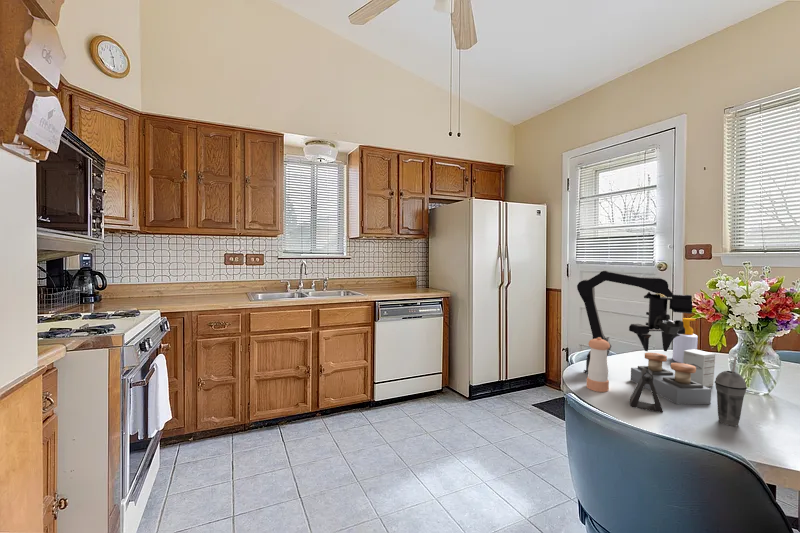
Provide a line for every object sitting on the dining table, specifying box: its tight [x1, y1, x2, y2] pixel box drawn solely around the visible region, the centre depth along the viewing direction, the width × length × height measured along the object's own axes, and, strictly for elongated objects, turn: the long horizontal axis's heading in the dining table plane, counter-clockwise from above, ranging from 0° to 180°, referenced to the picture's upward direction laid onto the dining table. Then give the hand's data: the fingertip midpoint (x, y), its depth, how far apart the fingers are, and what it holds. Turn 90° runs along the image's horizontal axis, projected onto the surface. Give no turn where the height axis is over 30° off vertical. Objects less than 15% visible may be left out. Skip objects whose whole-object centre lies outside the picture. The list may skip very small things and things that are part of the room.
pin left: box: [644, 352, 668, 372], centre depth 144 cm, size 7×7×6 cm
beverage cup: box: [714, 356, 748, 427], centre depth 112 cm, size 7×7×20 cm
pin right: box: [670, 362, 696, 384], centre depth 131 cm, size 7×7×6 cm
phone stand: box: [629, 368, 664, 414], centre depth 123 cm, size 9×6×12 cm, turn 60°
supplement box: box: [683, 348, 716, 388], centre depth 145 cm, size 7×7×13 cm
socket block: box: [630, 365, 712, 405], centre depth 137 cm, size 12×23×6 cm, turn 3°
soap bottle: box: [672, 317, 699, 363], centre depth 175 cm, size 13×8×20 cm, turn 164°
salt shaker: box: [586, 337, 611, 393], centre depth 139 cm, size 7×7×19 cm
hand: (655, 351), depth 144 cm, fingers open, 7 cm apart
